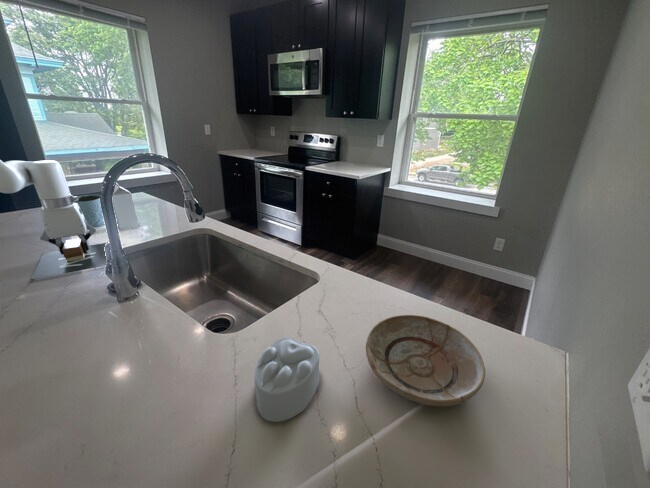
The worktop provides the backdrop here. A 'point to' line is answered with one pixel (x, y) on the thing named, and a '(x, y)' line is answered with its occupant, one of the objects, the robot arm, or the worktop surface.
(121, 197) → the milk carton
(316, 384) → the lumpy-topped squat cylinder
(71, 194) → the robot arm
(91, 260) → the chalkboard
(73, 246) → the eraser
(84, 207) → the blue-grey cup
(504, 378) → the worktop surface
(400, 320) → the ceramic bowl
